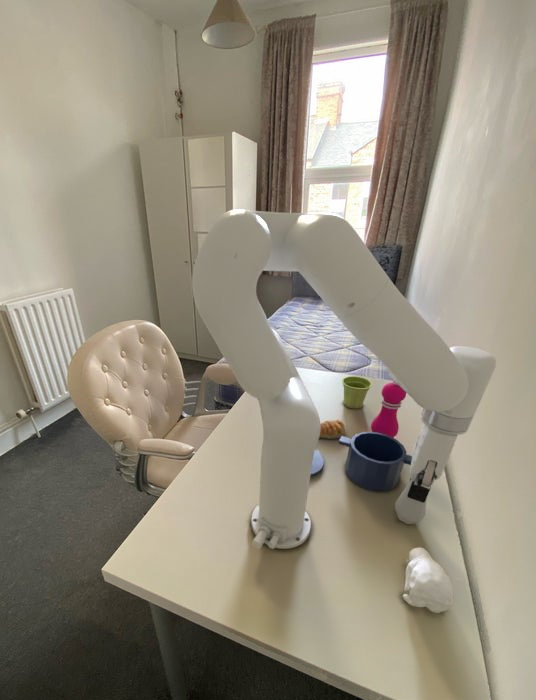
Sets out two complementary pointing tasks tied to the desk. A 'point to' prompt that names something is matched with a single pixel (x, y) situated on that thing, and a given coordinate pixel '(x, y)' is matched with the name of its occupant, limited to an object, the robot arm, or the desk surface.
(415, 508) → the salt shaker
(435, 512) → the desk surface
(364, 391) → the plant pot
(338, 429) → the pastry
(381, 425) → the pepper mill
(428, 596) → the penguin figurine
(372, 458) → the pot
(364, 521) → the desk surface
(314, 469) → the lid
